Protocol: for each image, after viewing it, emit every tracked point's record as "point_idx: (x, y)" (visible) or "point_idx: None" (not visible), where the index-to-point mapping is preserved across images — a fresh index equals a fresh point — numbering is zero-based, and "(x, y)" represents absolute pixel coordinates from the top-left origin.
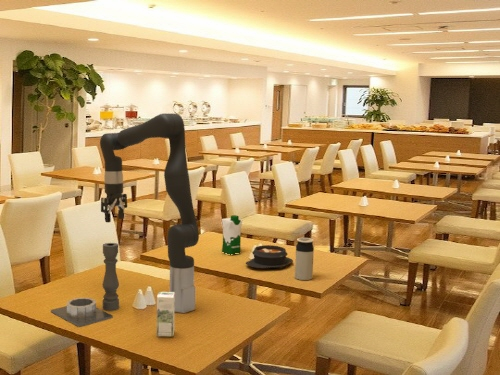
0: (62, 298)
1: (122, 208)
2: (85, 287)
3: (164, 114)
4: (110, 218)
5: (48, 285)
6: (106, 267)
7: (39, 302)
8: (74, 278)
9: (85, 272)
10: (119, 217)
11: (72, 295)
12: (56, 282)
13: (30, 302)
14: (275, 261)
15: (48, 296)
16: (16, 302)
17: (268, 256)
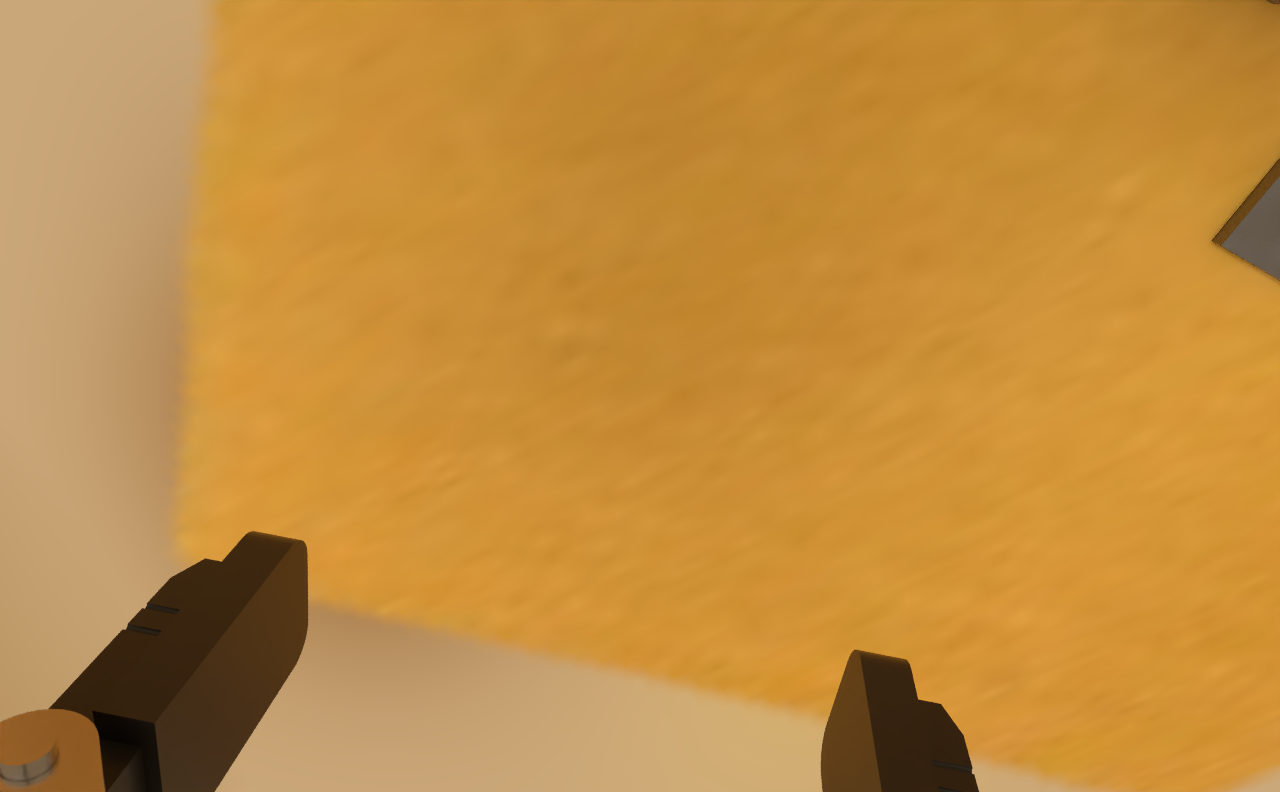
0: (1101, 473)
1: (107, 787)
2: (771, 441)
3: None
4: (875, 723)
5: (819, 699)
6: None
7: (1233, 579)
8: (590, 617)
9: (416, 613)
10: (289, 642)
11: (1006, 438)
12: (732, 683)
13: (1243, 633)
14: None
15: (1074, 587)
16: (1258, 711)
17: None
